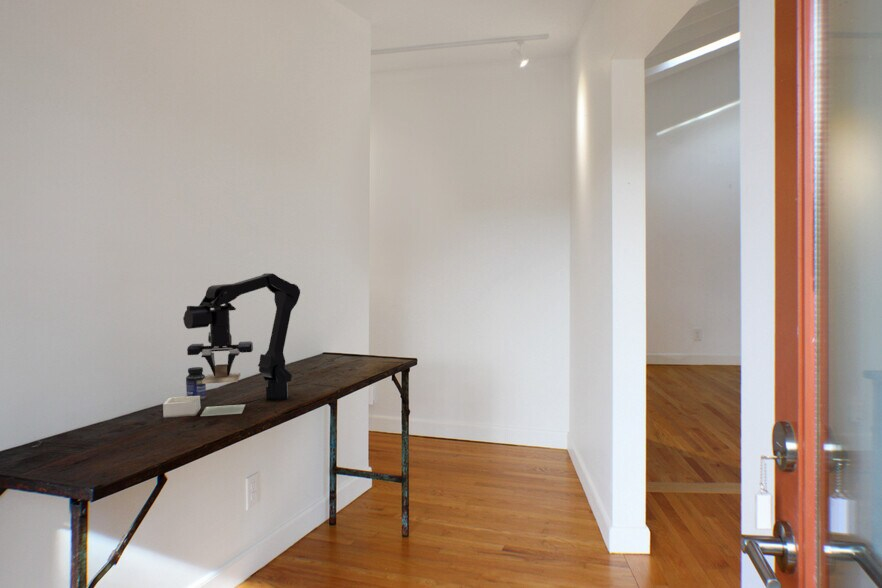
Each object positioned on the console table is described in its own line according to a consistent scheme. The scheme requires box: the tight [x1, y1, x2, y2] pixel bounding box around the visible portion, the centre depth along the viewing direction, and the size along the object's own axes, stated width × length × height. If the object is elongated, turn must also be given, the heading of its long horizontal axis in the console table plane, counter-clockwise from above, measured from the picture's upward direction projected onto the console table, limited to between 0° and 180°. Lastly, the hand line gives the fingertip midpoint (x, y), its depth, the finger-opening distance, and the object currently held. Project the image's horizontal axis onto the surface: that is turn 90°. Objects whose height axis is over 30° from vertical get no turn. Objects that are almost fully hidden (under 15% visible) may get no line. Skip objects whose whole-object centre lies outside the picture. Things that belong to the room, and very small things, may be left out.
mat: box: [200, 404, 246, 417], centre depth 191 cm, size 12×12×1 cm
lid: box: [202, 363, 241, 385], centre depth 191 cm, size 10×10×4 cm
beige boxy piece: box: [162, 395, 201, 418], centre depth 189 cm, size 9×9×4 cm
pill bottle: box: [185, 366, 207, 402], centre depth 207 cm, size 6×6×11 cm
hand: (221, 375), depth 191 cm, fingers closed on lid, 3 cm apart
